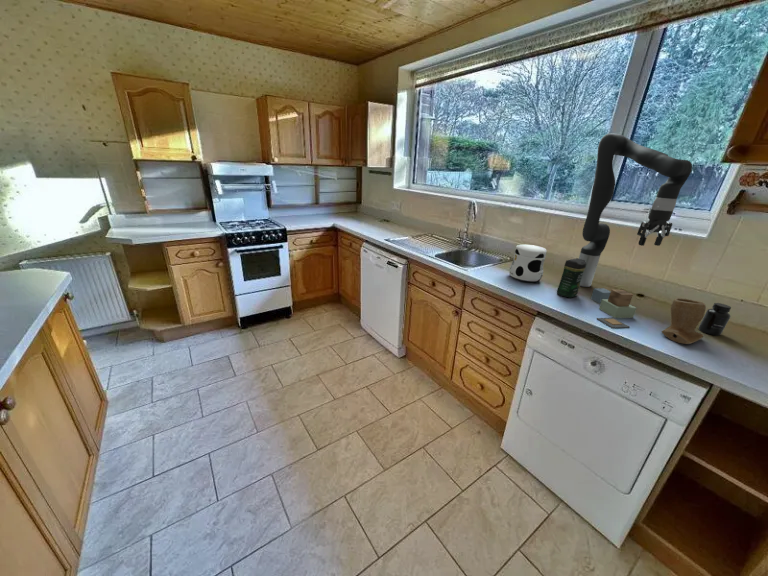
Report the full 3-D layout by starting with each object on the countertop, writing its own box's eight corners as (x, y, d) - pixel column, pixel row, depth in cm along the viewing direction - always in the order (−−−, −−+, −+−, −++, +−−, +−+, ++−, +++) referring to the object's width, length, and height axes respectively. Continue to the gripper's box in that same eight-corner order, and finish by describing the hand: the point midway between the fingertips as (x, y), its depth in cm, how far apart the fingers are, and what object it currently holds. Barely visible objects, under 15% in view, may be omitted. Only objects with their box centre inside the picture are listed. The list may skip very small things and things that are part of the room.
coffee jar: (569, 299, 154) (580, 262, 147) (553, 293, 160) (563, 258, 153) (579, 295, 159) (590, 260, 152) (563, 290, 165) (573, 255, 158)
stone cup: (669, 326, 132) (683, 292, 126) (705, 340, 122) (723, 304, 117) (650, 333, 125) (664, 298, 120) (687, 348, 116) (704, 311, 110)
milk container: (503, 273, 187) (509, 243, 180) (533, 274, 187) (540, 244, 180) (513, 283, 171) (520, 251, 164) (546, 285, 171) (554, 253, 164)
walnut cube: (607, 301, 142) (611, 289, 140) (618, 300, 143) (622, 289, 141) (617, 306, 137) (621, 294, 135) (628, 306, 138) (633, 294, 136)
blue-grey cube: (590, 298, 156) (594, 288, 154) (600, 298, 157) (603, 288, 155) (599, 303, 151) (603, 292, 149) (609, 303, 152) (613, 292, 150)
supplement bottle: (713, 337, 125) (727, 309, 120) (693, 328, 131) (706, 302, 126) (725, 335, 127) (739, 308, 122) (705, 327, 133) (717, 300, 128)
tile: (596, 319, 135) (597, 317, 134) (612, 318, 136) (613, 316, 136) (612, 328, 127) (613, 326, 127) (629, 327, 129) (630, 325, 128)
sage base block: (598, 309, 145) (602, 299, 143) (616, 309, 146) (620, 299, 145) (614, 318, 137) (617, 307, 135) (632, 318, 138) (636, 307, 136)
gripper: (667, 208, 143) (654, 243, 149) (640, 207, 140) (628, 243, 146) (684, 210, 136) (670, 247, 142) (656, 209, 134) (643, 247, 140)
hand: (648, 245), depth 144 cm, fingers open, 8 cm apart
